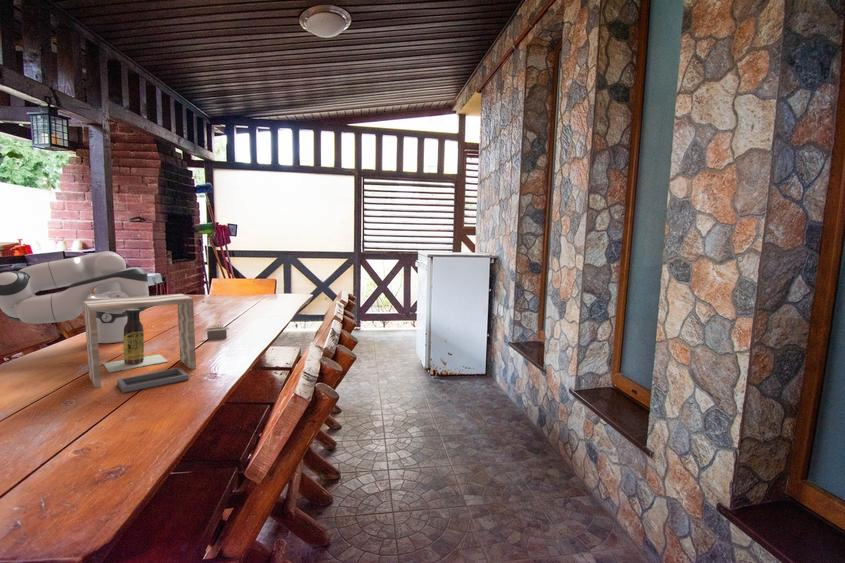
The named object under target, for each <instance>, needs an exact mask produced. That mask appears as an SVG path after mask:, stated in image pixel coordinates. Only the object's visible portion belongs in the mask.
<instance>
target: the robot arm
mask: <svg viewBox="0 0 845 563" xmlns="http://www.w3.org/2000/svg"><path fill="white" fill-rule="evenodd" d="M148 278H149V277H148V272H146V271H145V270H144V269H143V268H141V267H137V266H136V267H128V268H127V263H126V260H125V259H124V258H123V257H122V255H120V254H118V253H117V252H114V251H109V250H106V251H105V250H104V251H99V252H95V253H90V254H85V255H84V254H83V255H79V256H74V257H70V258H64V259H57V260H51V261H46V262H41V263H37V264H33V265H30V266H26V267H23V268H22V269H19V270H8V271H2V272H0V309H1V311H2V313H3V315H4V316H5V317H6V318H8V319H9V320H10V321H13V322H23V323H25V324H51V323H61V322H66V321H71V320H75V319H76V318H78V317H79V316H80V315H81V314H82V313H83V312H84V301H94V300H107V299H119V298H132V297H145V296H150V291H149V285H148V284H149V283H148V281H149V280H148ZM64 287H68V288H67V289H65V290H64V291H61V292H56V293H51V294H50V293H49V294H48V293H47V294H43V295H36V293H38V292H41V291H47V290H48V291H49V290H54V289H59V288H64ZM93 290H95V291H94V292H95V294H94V293H93V294H90V293H91V292H92V291H93ZM150 307H152V306H150ZM150 307H139V308H128V309H140V313H141V312H143V311H146V309H147V308H150ZM126 312H127V309H118V310H107V311H96V320H97V334H98V344H112V343H114V344H115V343H121V342H124V336H123V335H124V327H125V325H126V324H127V313H126Z"/></svg>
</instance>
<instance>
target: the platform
mask: <svg viewBox="0 0 845 563" xmlns="http://www.w3.org/2000/svg"><path fill="white" fill-rule="evenodd" d="M229 328H230V327H226V326H224V325H223V324H213V325H212V324H211V327H208V328H205V329H204V332H206V333H207V334H206V338H207V340H216V339H217V340H219V339H227V337H228V336H227V334H228V333H227V331H228V330H230V329H229Z"/></svg>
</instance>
